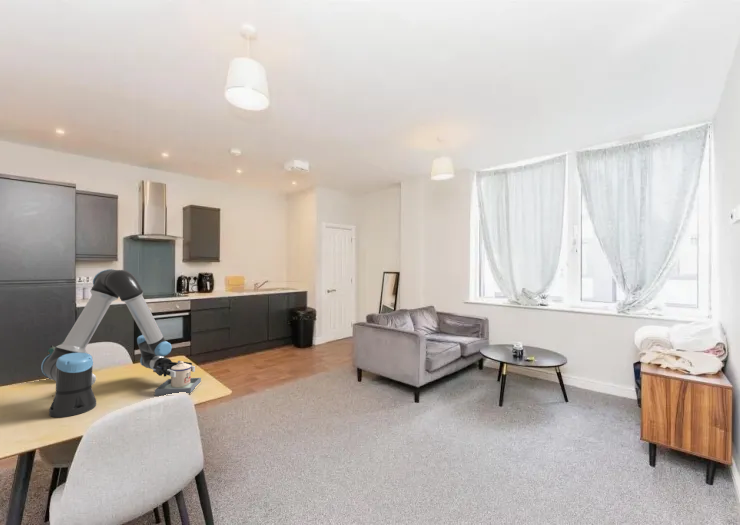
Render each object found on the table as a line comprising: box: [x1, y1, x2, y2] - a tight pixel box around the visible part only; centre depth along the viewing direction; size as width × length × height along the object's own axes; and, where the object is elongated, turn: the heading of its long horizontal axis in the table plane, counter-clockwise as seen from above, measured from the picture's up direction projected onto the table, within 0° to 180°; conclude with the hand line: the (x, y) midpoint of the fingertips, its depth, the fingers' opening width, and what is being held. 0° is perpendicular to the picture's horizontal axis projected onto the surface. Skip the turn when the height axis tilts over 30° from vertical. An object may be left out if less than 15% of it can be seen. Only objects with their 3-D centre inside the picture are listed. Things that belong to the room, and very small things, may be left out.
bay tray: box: [154, 377, 202, 397], centre depth 167 cm, size 16×16×3 cm
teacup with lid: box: [170, 360, 192, 387], centre depth 168 cm, size 12×9×12 cm
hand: (184, 371), depth 165 cm, fingers closed on teacup with lid, 9 cm apart
